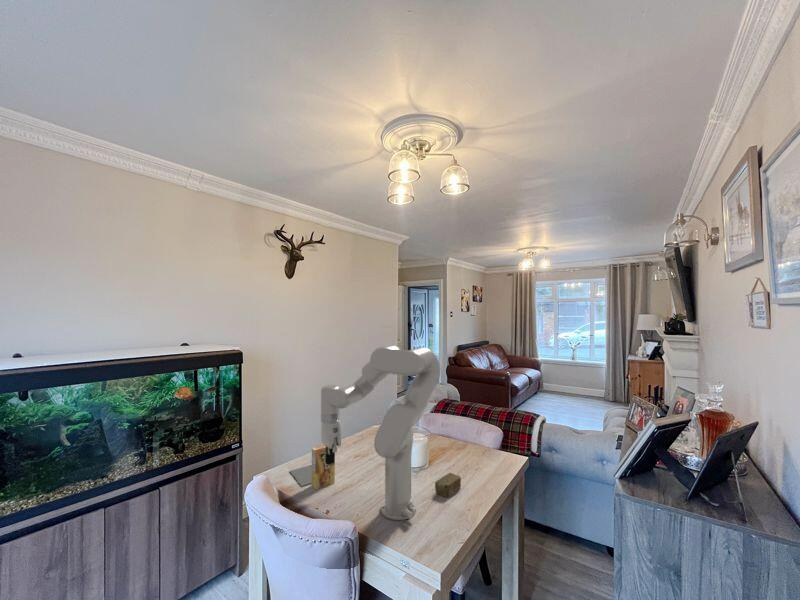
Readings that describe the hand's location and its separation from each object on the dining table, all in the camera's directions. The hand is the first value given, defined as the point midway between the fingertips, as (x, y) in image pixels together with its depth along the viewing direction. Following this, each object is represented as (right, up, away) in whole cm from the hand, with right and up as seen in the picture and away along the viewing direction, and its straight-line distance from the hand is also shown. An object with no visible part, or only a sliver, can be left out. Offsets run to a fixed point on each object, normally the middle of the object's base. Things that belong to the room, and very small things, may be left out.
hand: (330, 463), depth 134 cm
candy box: (-4, -12, +5) cm, 13 cm away
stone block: (+48, -12, 0) cm, 49 cm away
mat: (-11, -12, +14) cm, 21 cm away
